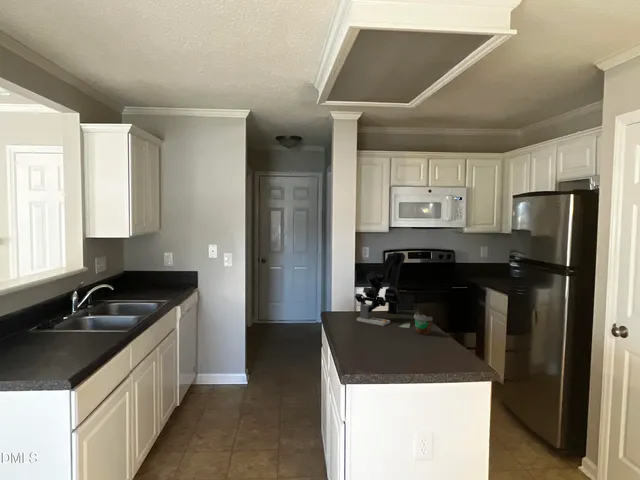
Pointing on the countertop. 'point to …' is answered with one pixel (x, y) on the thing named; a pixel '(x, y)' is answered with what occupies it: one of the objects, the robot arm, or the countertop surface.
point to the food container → (423, 324)
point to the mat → (404, 325)
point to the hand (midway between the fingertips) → (364, 311)
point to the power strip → (374, 321)
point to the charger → (365, 311)
